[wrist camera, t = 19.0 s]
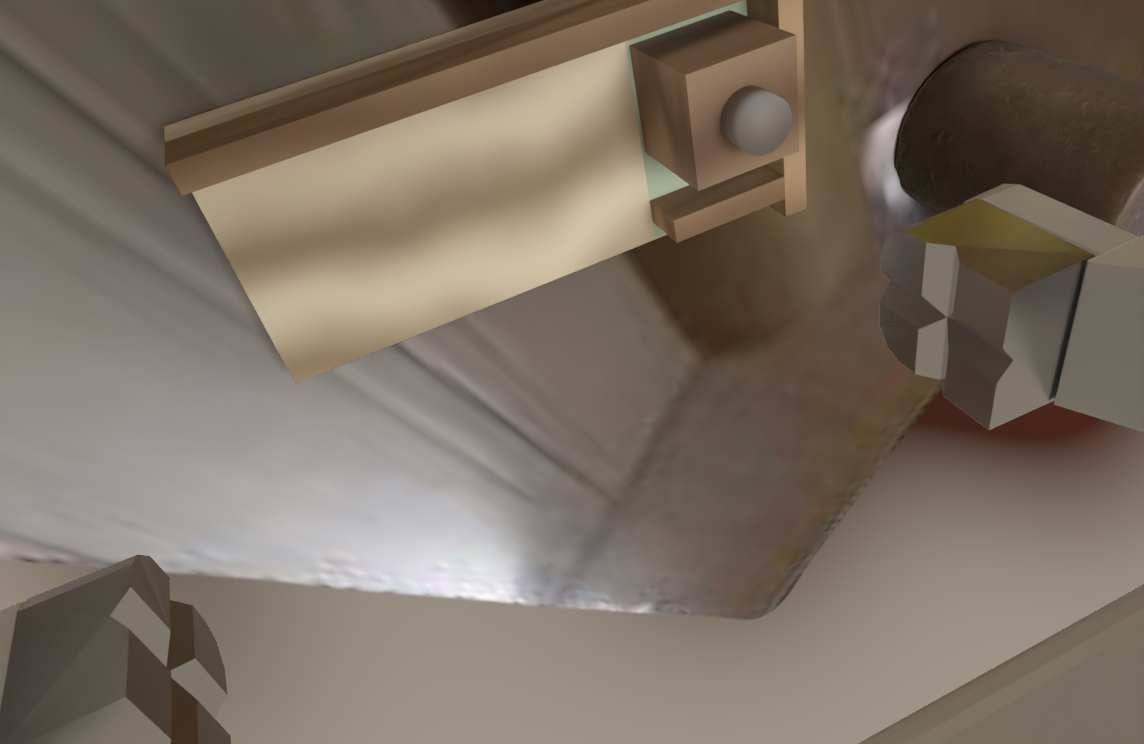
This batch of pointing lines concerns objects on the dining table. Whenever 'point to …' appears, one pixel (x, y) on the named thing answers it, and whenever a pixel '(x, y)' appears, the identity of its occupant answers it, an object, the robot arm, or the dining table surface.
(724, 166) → the knobbed wooden block
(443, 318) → the rail board
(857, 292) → the dining table surface
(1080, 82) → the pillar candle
